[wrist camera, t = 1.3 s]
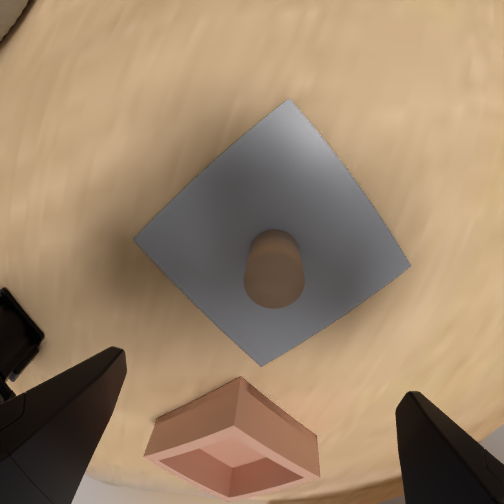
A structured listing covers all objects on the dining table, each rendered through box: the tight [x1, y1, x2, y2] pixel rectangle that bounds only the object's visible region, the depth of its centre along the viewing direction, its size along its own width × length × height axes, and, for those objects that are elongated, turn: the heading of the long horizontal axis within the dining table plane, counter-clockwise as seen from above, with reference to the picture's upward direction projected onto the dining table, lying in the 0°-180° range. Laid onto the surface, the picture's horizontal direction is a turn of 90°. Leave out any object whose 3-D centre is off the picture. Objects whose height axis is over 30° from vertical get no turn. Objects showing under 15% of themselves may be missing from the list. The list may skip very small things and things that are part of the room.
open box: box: [143, 377, 320, 502], centre depth 23 cm, size 11×11×5 cm
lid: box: [133, 99, 411, 367], centre depth 17 cm, size 13×13×5 cm
